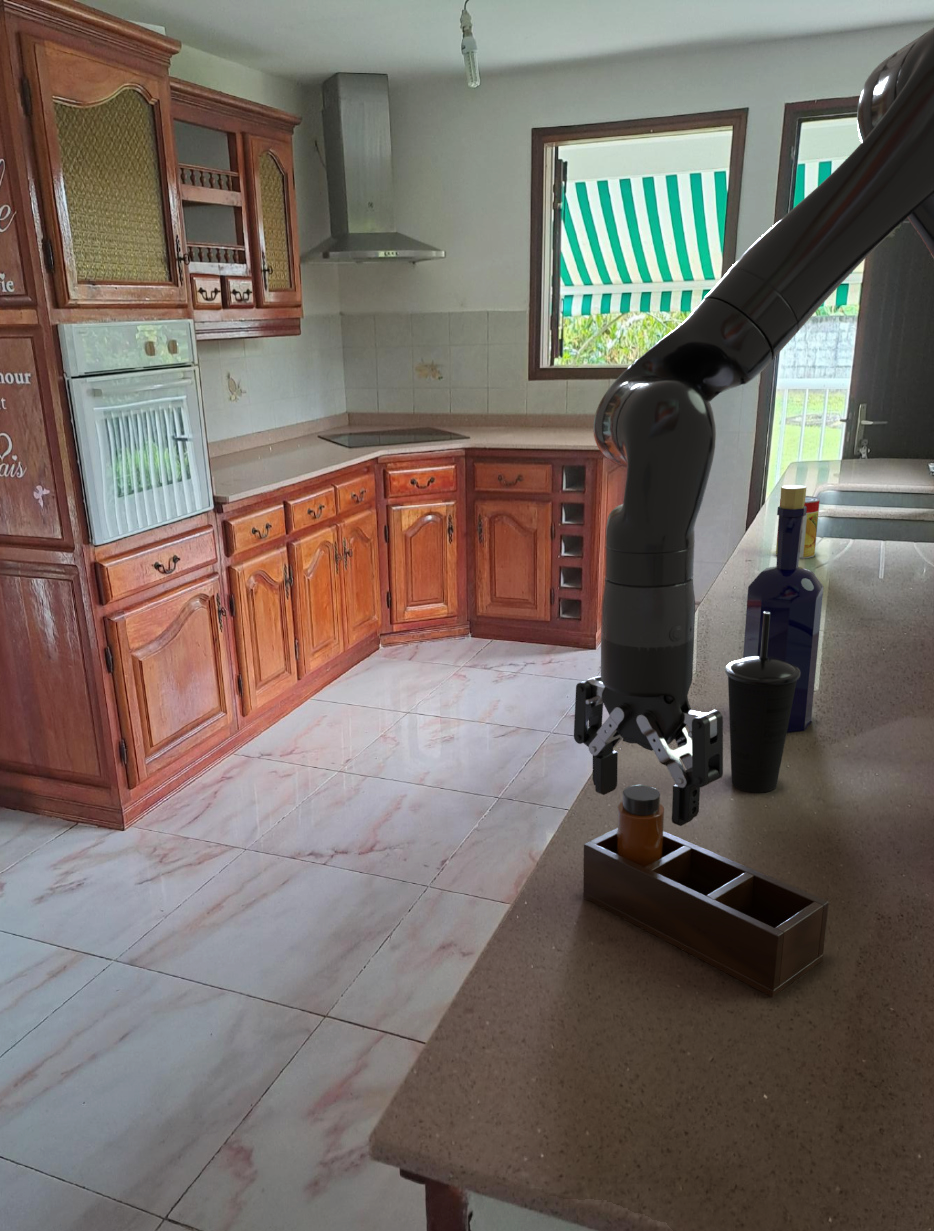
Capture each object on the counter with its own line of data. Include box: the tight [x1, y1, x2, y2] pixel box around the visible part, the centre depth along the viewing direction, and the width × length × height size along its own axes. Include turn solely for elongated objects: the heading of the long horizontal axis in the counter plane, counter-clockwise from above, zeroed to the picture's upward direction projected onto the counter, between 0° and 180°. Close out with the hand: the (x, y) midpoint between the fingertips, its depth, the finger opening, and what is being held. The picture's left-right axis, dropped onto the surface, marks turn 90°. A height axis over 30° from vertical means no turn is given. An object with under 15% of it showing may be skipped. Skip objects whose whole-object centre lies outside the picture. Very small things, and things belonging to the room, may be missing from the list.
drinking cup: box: [724, 612, 800, 794], centre depth 108 cm, size 8×8×20 cm
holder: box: [582, 827, 830, 998], centre depth 85 cm, size 7×20×6 cm, turn 38°
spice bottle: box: [616, 784, 665, 867], centre depth 89 cm, size 4×4×10 cm
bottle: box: [742, 484, 824, 734], centre depth 124 cm, size 9×9×30 cm
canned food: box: [775, 495, 821, 560], centre depth 212 cm, size 8×8×12 cm
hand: (643, 805), depth 88 cm, fingers open, 8 cm apart
